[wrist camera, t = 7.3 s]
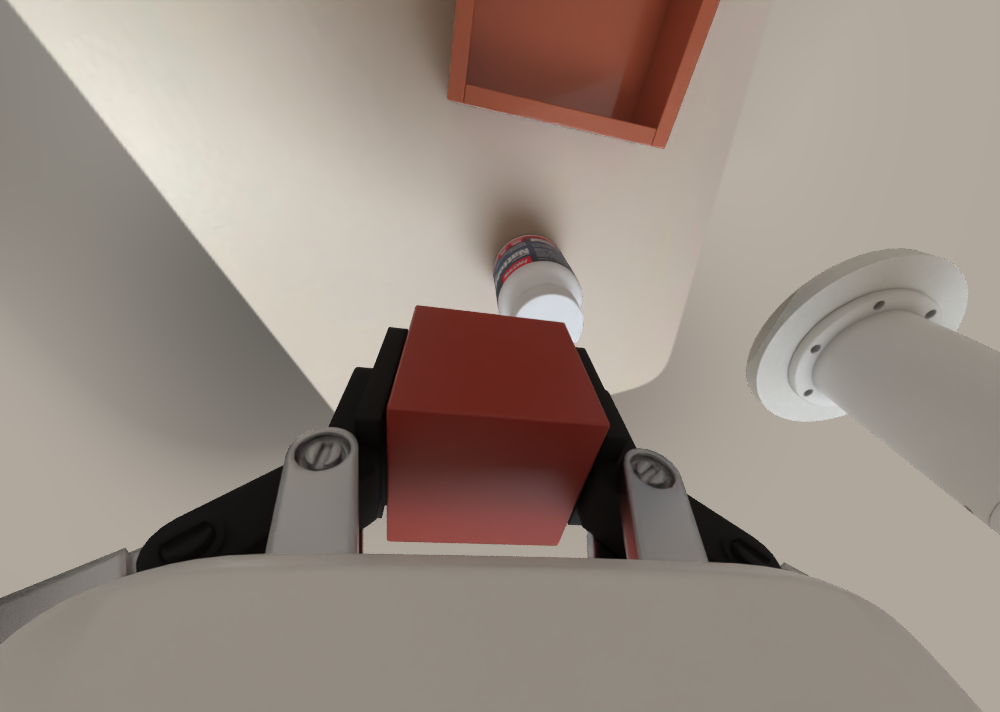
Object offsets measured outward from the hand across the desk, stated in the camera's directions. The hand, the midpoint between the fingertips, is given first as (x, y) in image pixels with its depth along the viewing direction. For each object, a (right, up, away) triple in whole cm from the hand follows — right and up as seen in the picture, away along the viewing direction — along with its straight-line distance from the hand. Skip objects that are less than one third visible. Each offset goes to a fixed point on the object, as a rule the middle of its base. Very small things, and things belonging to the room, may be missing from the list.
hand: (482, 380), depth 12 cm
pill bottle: (+3, +7, +16) cm, 18 cm away
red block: (0, 0, 0) cm, 0 cm away
